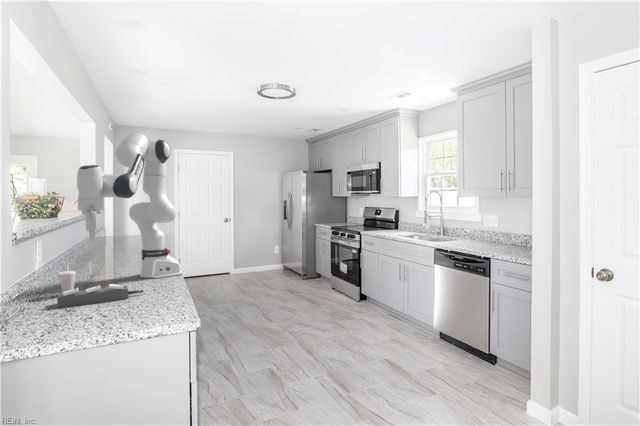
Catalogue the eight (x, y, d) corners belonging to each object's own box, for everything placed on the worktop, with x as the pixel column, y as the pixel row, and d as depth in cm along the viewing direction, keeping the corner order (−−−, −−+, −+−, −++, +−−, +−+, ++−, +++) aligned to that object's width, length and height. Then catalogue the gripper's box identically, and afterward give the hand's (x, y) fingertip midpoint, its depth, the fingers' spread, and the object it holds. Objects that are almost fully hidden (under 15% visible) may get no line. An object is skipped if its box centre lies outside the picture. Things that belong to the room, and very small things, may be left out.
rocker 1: (78, 289, 147) (78, 287, 147) (78, 291, 144) (77, 289, 144) (64, 294, 144) (63, 291, 144) (63, 296, 142) (62, 293, 141)
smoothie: (67, 296, 155) (66, 264, 154) (55, 296, 157) (53, 263, 156) (80, 292, 162) (79, 261, 161) (68, 292, 163) (66, 260, 162)
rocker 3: (122, 287, 155) (122, 284, 155) (122, 289, 152) (123, 286, 152) (108, 286, 152) (109, 283, 152) (108, 288, 149) (109, 285, 149)
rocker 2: (100, 287, 151) (99, 284, 150) (100, 289, 148) (99, 286, 148) (86, 291, 148) (85, 288, 148) (86, 293, 145) (85, 290, 145)
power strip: (142, 292, 162) (142, 283, 162) (144, 296, 156) (143, 286, 156) (59, 303, 146) (59, 292, 146) (57, 307, 140) (57, 297, 140)
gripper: (100, 206, 139) (101, 242, 140) (100, 204, 156) (101, 237, 157) (80, 206, 136) (81, 243, 137) (82, 205, 153) (83, 238, 154)
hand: (92, 240), depth 147 cm, fingers closed
